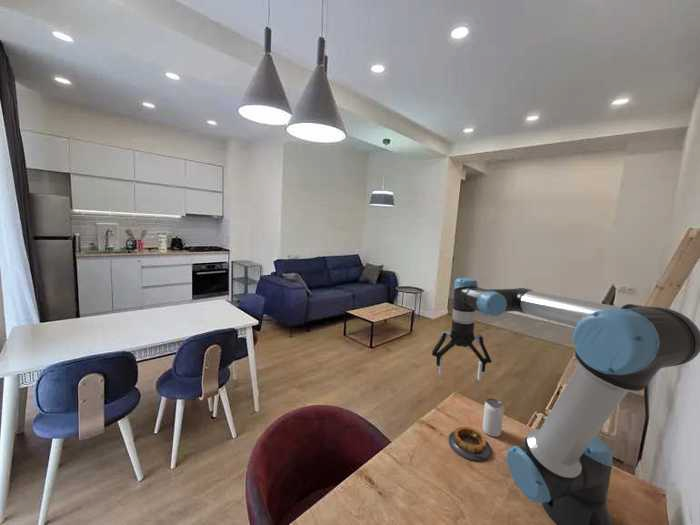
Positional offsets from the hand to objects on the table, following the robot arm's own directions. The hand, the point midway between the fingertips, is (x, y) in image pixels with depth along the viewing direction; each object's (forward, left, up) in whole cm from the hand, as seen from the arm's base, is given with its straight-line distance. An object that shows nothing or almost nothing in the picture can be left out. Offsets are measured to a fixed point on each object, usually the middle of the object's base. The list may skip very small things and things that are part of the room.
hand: (459, 376), depth 107 cm
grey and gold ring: (-6, +1, -23) cm, 24 cm away
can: (-8, -13, -23) cm, 28 cm away
